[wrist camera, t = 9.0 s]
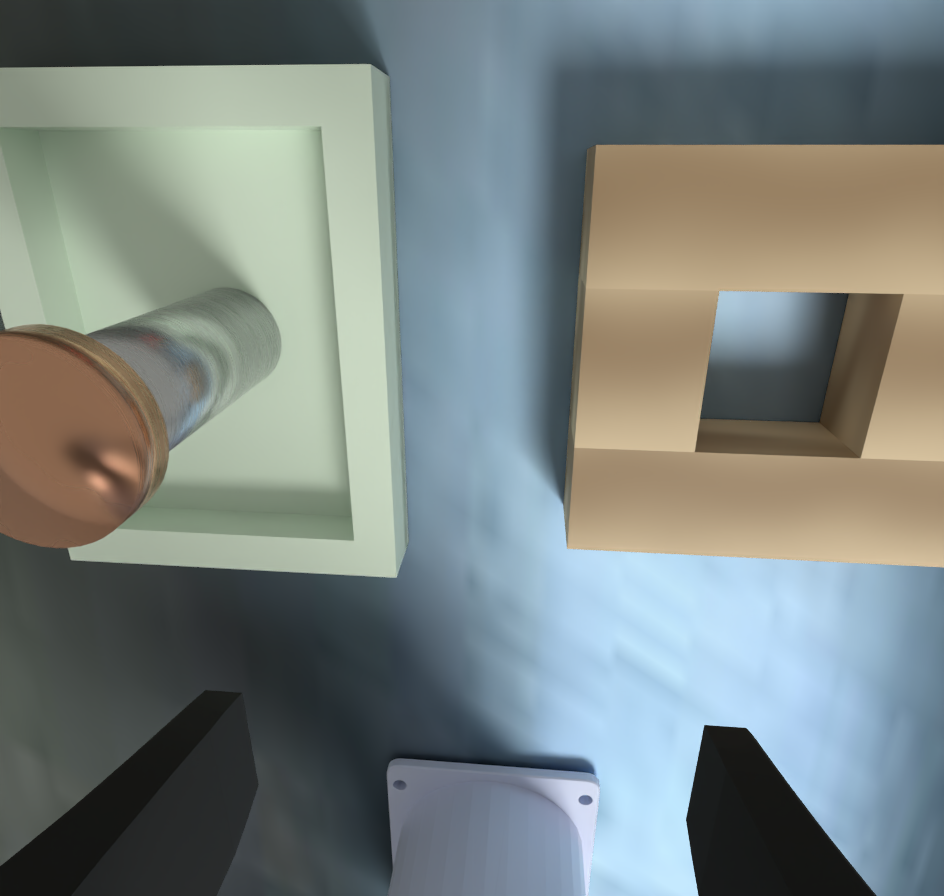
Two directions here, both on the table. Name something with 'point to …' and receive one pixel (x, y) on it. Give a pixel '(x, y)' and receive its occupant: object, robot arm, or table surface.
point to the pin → (117, 408)
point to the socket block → (689, 341)
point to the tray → (232, 266)
